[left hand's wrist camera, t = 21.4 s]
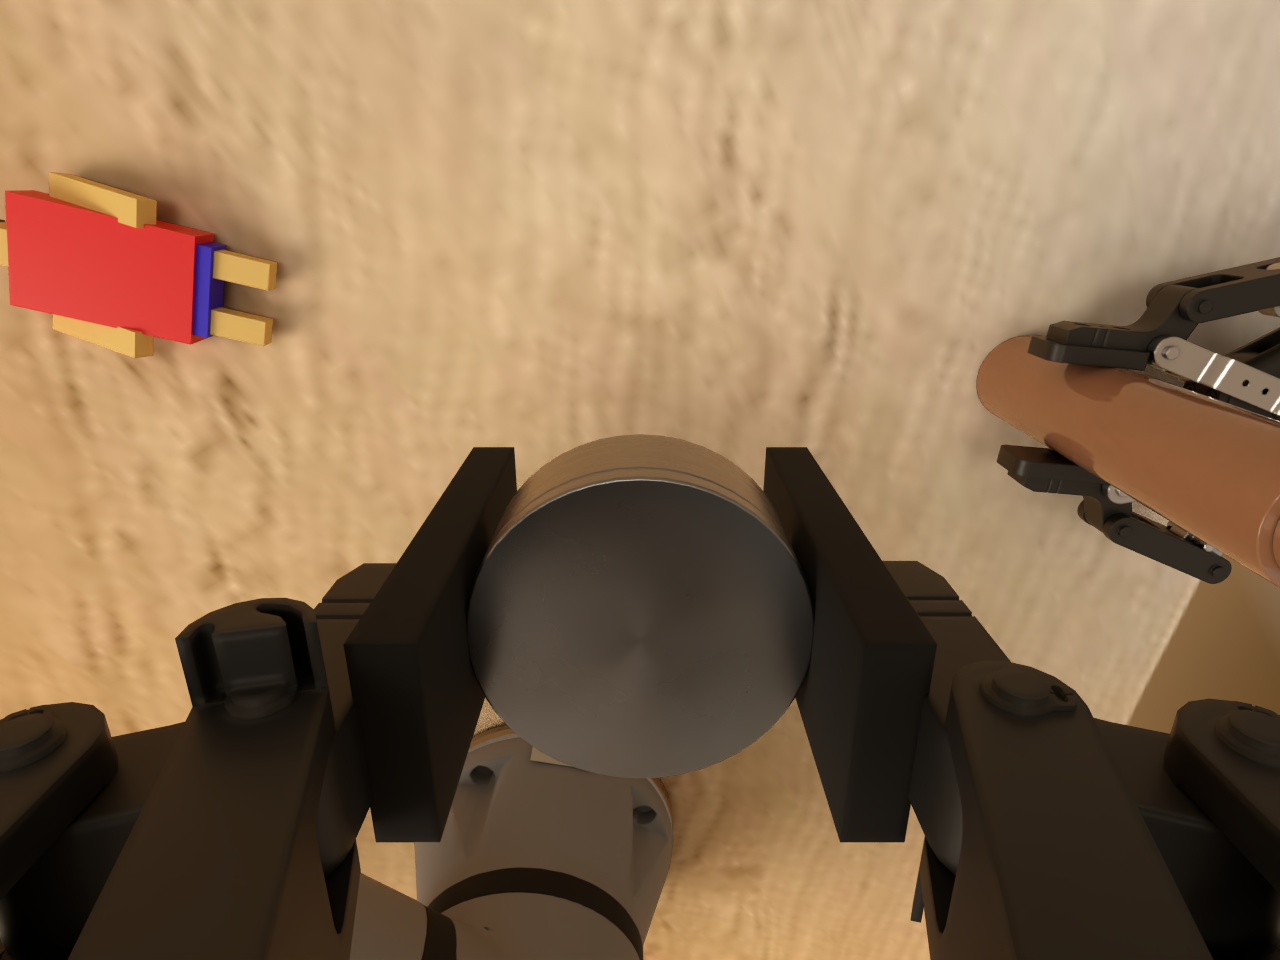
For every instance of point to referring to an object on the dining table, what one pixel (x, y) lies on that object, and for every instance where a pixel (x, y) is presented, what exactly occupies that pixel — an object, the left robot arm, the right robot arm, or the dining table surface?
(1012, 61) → the dining table surface
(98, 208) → the toy figure
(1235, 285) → the right robot arm
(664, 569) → the lid
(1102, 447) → the brown capped cylinder
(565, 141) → the dining table surface
